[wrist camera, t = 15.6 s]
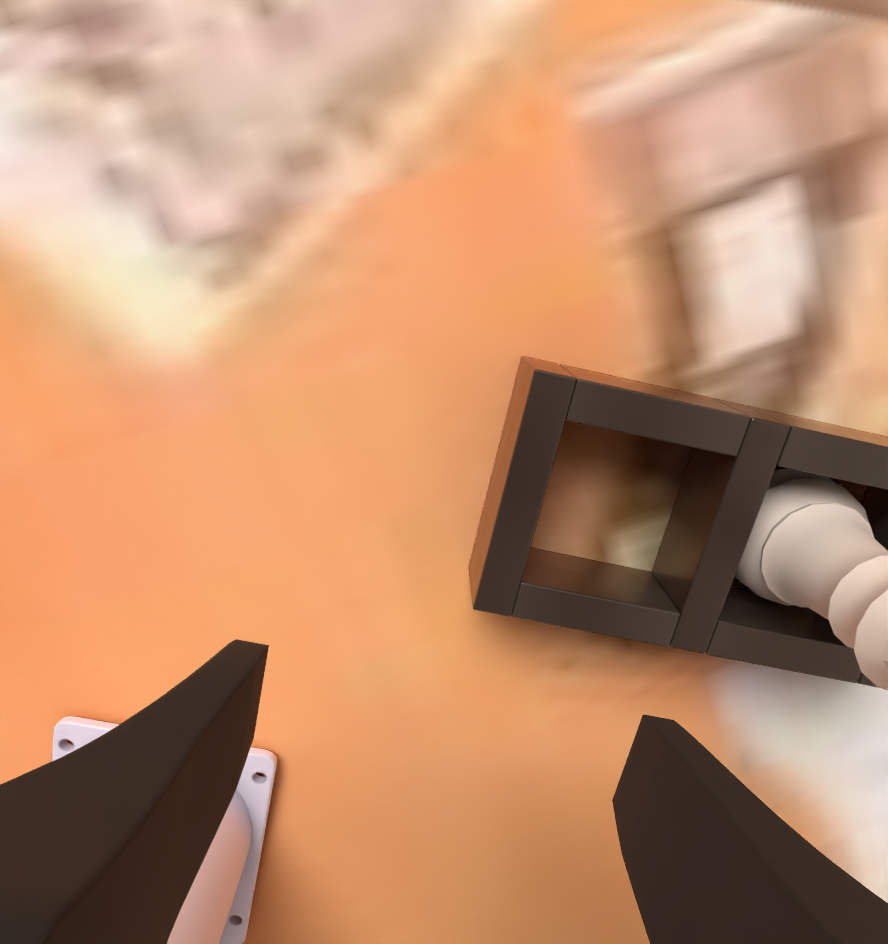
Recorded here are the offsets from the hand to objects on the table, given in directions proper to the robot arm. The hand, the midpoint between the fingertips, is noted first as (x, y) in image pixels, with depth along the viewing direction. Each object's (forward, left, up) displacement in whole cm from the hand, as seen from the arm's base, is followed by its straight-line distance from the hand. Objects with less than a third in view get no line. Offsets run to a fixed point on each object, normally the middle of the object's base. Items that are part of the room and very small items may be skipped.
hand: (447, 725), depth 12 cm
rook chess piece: (+2, -11, -11) cm, 16 cm away
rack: (+2, -8, -10) cm, 13 cm away
